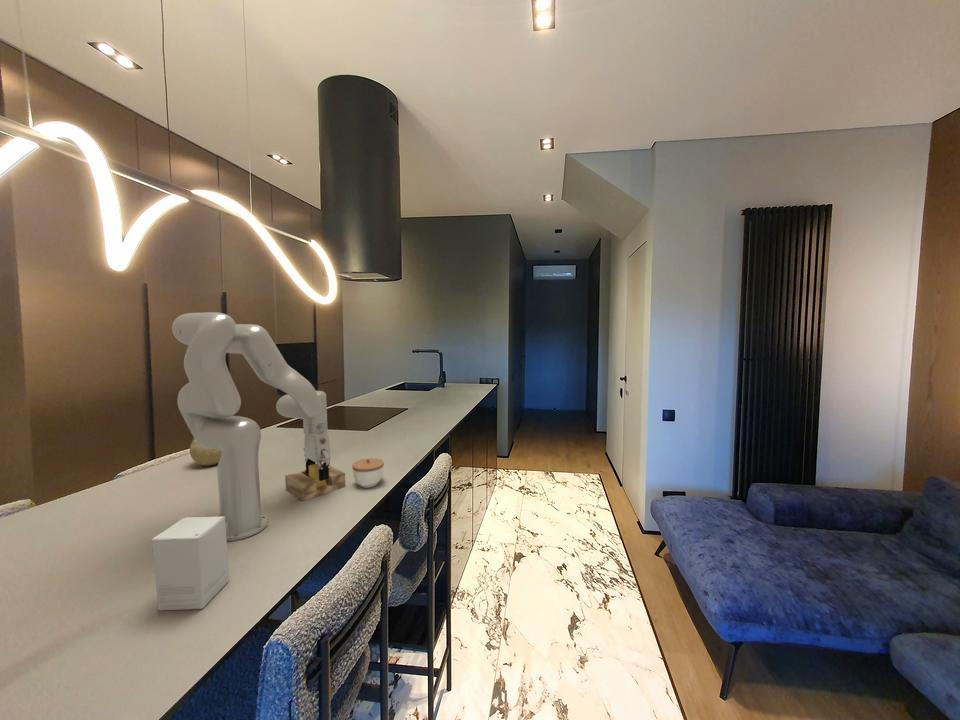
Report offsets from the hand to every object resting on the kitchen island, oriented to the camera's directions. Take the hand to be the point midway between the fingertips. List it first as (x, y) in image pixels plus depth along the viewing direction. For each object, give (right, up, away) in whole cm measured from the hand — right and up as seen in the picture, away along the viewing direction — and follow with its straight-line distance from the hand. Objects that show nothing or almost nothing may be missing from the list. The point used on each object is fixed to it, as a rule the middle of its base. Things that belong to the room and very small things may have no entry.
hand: (317, 475), depth 130 cm
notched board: (-1, -5, +1) cm, 5 cm away
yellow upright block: (0, -3, 0) cm, 3 cm away
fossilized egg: (-54, -3, +24) cm, 60 cm away
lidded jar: (+16, -5, +5) cm, 18 cm away
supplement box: (-3, -9, -51) cm, 52 cm away
